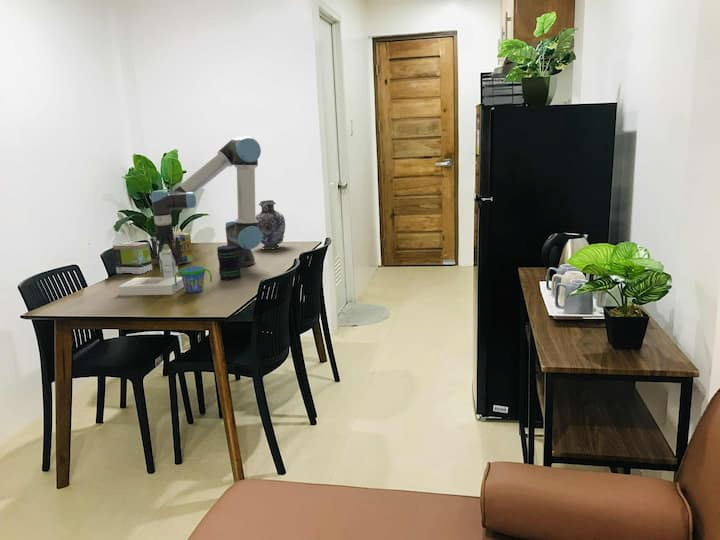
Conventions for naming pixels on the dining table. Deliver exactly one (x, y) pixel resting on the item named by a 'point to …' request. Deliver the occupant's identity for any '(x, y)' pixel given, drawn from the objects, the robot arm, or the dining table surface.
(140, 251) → the tea box
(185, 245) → the protein box
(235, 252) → the storage jar
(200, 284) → the snack cup
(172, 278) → the flat white box
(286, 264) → the dining table surface
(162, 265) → the syrup box
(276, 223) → the decorative vase
